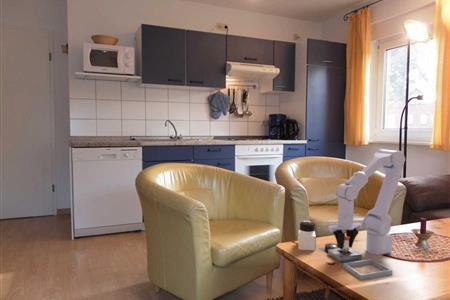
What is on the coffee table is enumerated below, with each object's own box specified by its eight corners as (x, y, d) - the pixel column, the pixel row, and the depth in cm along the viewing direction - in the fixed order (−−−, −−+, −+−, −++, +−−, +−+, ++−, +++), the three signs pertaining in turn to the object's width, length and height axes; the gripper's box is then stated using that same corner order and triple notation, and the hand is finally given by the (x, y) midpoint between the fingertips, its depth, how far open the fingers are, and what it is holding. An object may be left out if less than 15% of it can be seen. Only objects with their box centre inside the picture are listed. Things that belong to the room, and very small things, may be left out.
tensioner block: (338, 247, 147) (338, 241, 146) (363, 262, 131) (363, 255, 131) (318, 250, 144) (318, 243, 144) (341, 265, 129) (341, 258, 128)
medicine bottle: (315, 252, 141) (316, 225, 140) (298, 251, 143) (298, 224, 142) (314, 246, 148) (315, 220, 147) (298, 245, 150) (298, 219, 149)
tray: (371, 265, 129) (372, 258, 129) (392, 276, 119) (392, 270, 119) (342, 269, 125) (342, 263, 125) (361, 282, 116) (361, 275, 115)
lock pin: (345, 254, 137) (346, 232, 136) (352, 258, 133) (352, 236, 133) (337, 255, 136) (337, 233, 135) (343, 259, 132) (344, 237, 131)
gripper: (336, 218, 127) (335, 253, 128) (367, 215, 131) (366, 248, 133) (325, 213, 134) (324, 246, 135) (356, 210, 138) (355, 242, 139)
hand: (344, 247), depth 134 cm, fingers closed on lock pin, 4 cm apart
